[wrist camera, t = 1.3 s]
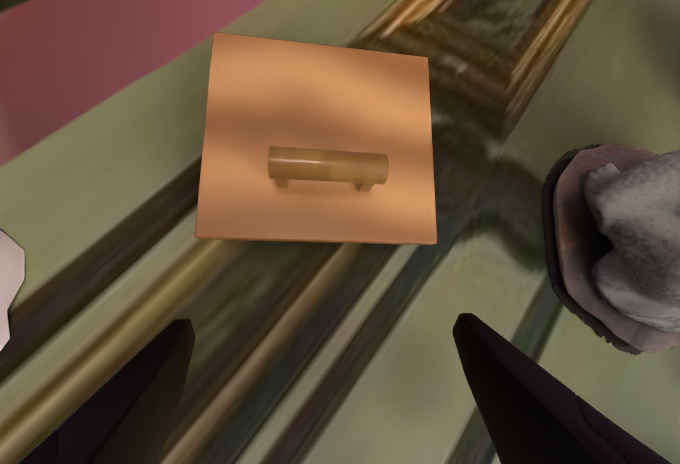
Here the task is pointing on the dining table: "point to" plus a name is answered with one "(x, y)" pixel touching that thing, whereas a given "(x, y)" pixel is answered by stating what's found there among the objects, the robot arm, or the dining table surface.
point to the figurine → (9, 280)
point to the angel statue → (617, 242)
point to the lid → (316, 145)
